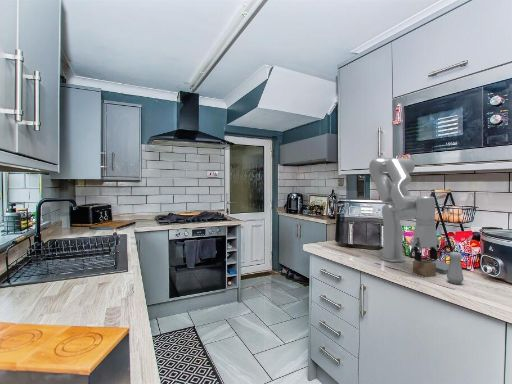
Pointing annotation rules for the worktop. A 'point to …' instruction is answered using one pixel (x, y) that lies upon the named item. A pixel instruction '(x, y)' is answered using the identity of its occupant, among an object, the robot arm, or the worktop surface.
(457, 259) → the salt shaker
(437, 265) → the slab
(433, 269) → the walnut block
